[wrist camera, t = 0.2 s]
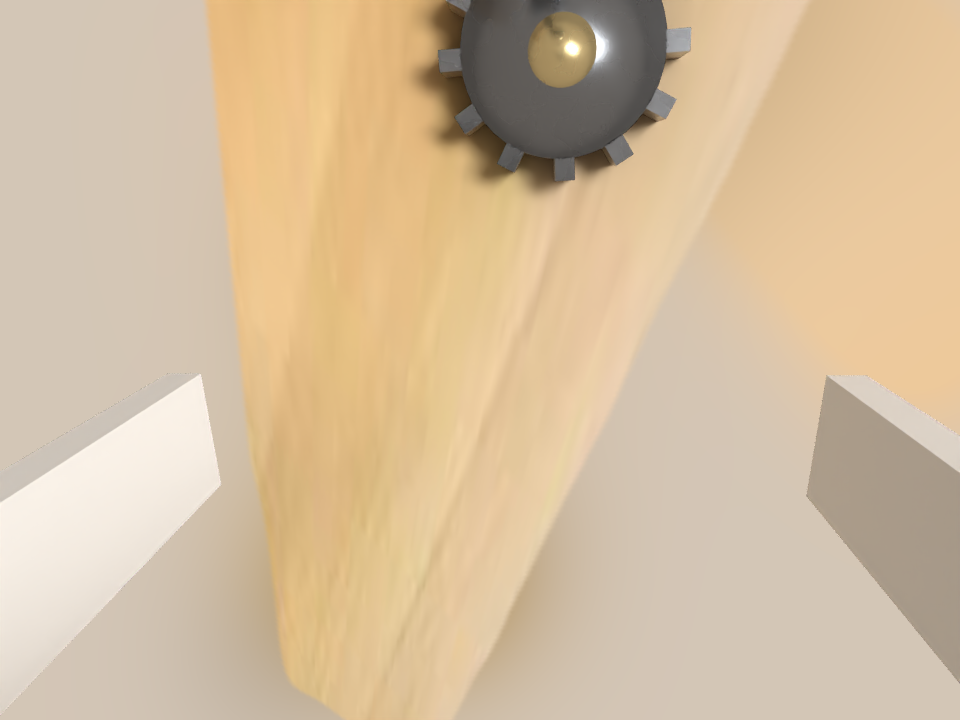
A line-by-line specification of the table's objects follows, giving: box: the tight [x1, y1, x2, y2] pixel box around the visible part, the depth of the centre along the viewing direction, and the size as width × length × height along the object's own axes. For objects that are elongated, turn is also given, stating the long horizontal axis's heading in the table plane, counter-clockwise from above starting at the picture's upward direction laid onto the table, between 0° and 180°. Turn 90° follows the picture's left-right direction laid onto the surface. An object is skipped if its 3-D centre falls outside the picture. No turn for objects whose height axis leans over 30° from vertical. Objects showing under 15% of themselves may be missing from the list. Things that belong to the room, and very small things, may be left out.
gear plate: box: [438, 0, 691, 181], centre depth 36 cm, size 15×15×2 cm
